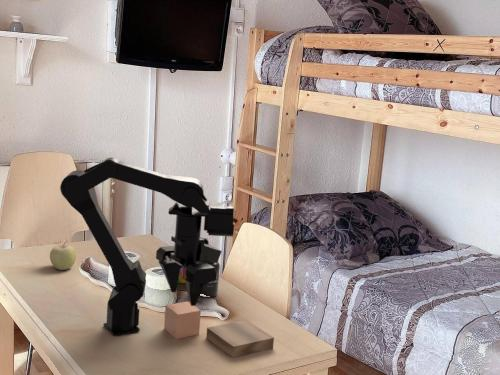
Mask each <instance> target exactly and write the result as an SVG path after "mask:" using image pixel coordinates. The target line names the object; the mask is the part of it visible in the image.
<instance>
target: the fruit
mask: <svg viewBox="0 0 500 375" xmlns="http://www.w3.org/2000/svg"><path fill="white" fill-rule="evenodd" d="M49 259H50V263H51V265H52V266H53V267H54V268H55V269H56V270H60V271H65V270H69V269H71V268H72V267H73V266H74V264H75V263H76V260H77V253H76V250H75V248H74V247H73V246H72V245H69V244H66V242H63V244H59V245H56V246H55V245H54V246H53V248H52V249H51V250H50V253H49Z"/></svg>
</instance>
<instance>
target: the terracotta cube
mask: <svg viewBox="0 0 500 375" xmlns="http://www.w3.org/2000/svg"><path fill="white" fill-rule="evenodd" d="M164 307H165V310H164V326H163V327H164V331H166V332H167V333H168V334H170V335H171V337H173V338H175V339H177V340H178V339H182V338H188V337H192V336H193V337H194V336H196V335H197V336H198V335H200V326H201V312H202V310H201V309H200V308H198V307H197V306H196V305H195V306H191V304H190V301H183V302H177V303H170V304H166V305H165V306H164Z"/></svg>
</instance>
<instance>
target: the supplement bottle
mask: <svg viewBox="0 0 500 375" xmlns="http://www.w3.org/2000/svg"><path fill="white" fill-rule="evenodd" d="M203 263H207V264H209V265H211V266H213V267H214V268H215V269H216V270H217V271H218V272H217V279H216V280H213V281H212V282H208V283H207V284H206V285H205V286H204V288H203V290H202V292H201V294H204V295H206V296H210V298H214V297H216V296H217V295H218V292H219V281H220V269H221V264H220V262H219V261H218V262H217V263H214V262H213V261H209V260H206V259H204V262H197V263H196V264H203Z"/></svg>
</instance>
